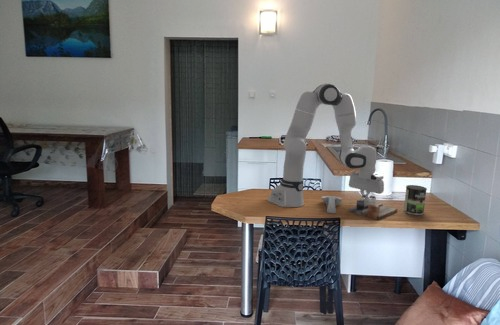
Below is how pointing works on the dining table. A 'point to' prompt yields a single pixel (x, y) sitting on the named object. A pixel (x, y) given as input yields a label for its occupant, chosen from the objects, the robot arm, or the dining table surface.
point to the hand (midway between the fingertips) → (364, 197)
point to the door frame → (374, 211)
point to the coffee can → (415, 199)
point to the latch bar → (366, 201)
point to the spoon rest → (331, 203)
